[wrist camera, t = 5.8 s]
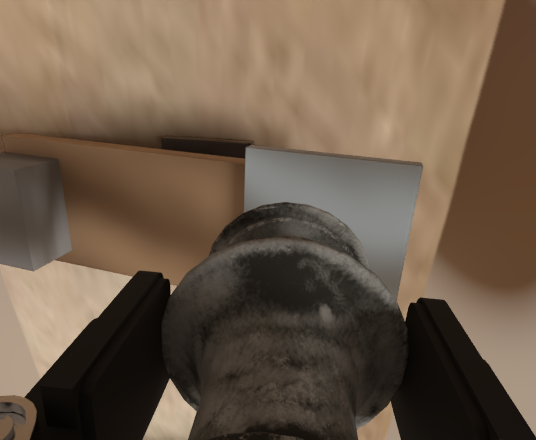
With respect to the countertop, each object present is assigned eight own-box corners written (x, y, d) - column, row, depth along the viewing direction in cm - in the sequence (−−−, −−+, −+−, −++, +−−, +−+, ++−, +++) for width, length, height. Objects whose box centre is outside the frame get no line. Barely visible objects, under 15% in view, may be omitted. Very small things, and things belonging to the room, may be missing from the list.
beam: (16, 116, 24) (-54, 124, 20) (419, 157, 18) (427, 178, 14) (42, 259, 28) (-13, 288, 24) (386, 332, 22) (385, 386, 18)
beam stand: (53, 128, 27) (5, 139, 22) (373, 148, 26) (387, 164, 21) (69, 233, 30) (29, 261, 25) (357, 256, 28) (367, 290, 24)
